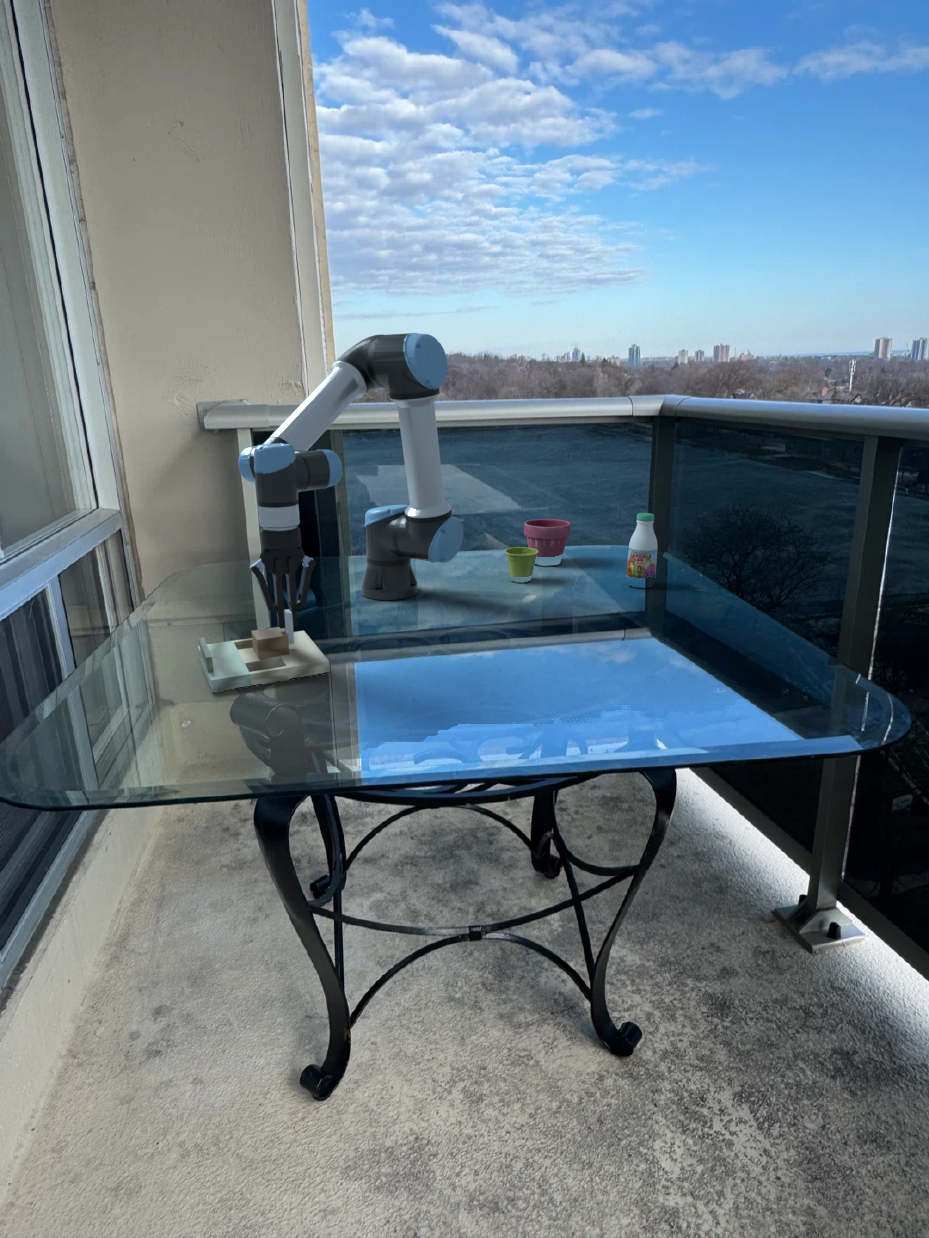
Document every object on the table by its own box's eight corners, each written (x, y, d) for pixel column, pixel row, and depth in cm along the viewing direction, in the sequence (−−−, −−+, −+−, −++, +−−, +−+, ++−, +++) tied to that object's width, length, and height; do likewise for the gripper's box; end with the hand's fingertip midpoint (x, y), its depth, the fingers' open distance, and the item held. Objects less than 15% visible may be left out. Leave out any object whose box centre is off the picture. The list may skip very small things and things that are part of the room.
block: (282, 645, 152) (281, 626, 150) (289, 654, 146) (288, 635, 145) (253, 649, 149) (251, 630, 148) (258, 659, 144) (257, 640, 143)
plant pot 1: (538, 585, 204) (539, 554, 202) (504, 585, 204) (505, 554, 202) (536, 576, 213) (537, 547, 210) (503, 576, 213) (504, 547, 211)
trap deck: (304, 641, 161) (302, 617, 159) (329, 673, 144) (328, 646, 142) (199, 657, 152) (196, 631, 150) (212, 692, 135) (209, 664, 133)
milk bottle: (625, 581, 208) (630, 511, 202) (652, 582, 207) (658, 511, 201) (626, 588, 201) (632, 516, 195) (655, 589, 200) (662, 516, 194)
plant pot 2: (522, 557, 235) (523, 518, 231) (566, 558, 235) (568, 518, 231) (524, 568, 222) (525, 526, 218) (570, 569, 221) (573, 527, 217)
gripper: (308, 520, 147) (315, 632, 155) (241, 526, 142) (252, 641, 149) (318, 527, 141) (325, 643, 148) (249, 533, 135) (260, 653, 143)
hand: (289, 642), depth 149 cm, fingers closed
